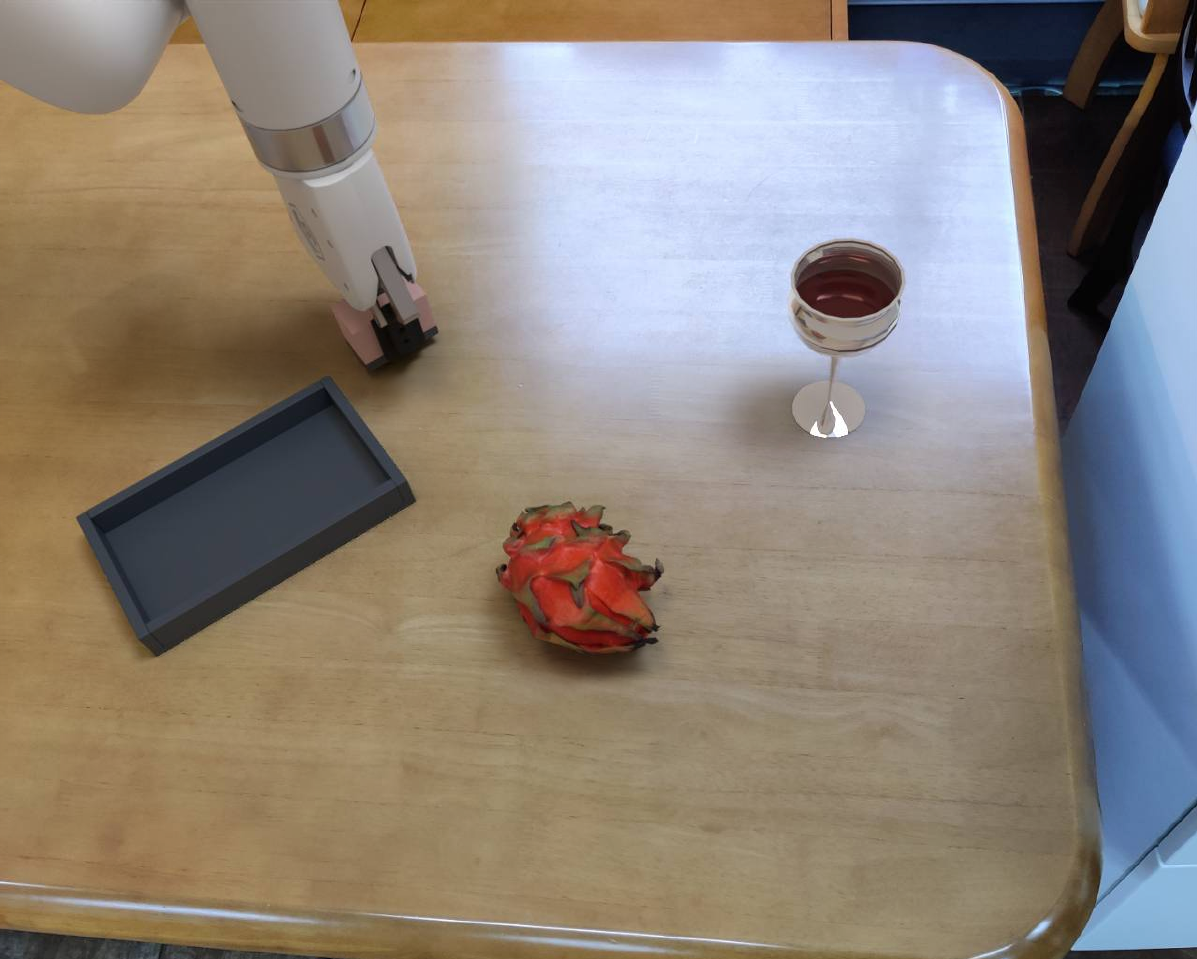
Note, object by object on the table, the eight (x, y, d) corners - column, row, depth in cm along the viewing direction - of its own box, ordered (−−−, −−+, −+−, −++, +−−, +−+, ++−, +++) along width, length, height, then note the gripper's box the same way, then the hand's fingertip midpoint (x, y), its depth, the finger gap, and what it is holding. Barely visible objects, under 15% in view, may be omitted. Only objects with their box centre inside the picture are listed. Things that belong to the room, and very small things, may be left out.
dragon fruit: (528, 552, 71) (655, 674, 68) (441, 588, 64) (576, 725, 61) (581, 455, 66) (720, 582, 63) (492, 484, 59) (643, 627, 56)
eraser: (369, 372, 77) (352, 334, 73) (347, 344, 78) (330, 305, 75) (439, 333, 78) (426, 293, 75) (416, 305, 80) (402, 266, 76)
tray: (156, 657, 68) (138, 639, 66) (93, 536, 73) (74, 516, 71) (416, 501, 72) (407, 480, 70) (339, 396, 77) (328, 374, 75)
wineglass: (760, 393, 74) (768, 263, 63) (846, 356, 74) (867, 222, 64) (809, 463, 70) (826, 338, 60) (898, 424, 71) (929, 294, 61)
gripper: (195, 76, 65) (299, 294, 81) (314, 221, 57) (402, 429, 73) (302, 24, 66) (383, 248, 82) (431, 159, 59) (493, 376, 75)
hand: (391, 332), depth 78 cm, fingers closed on eraser, 3 cm apart
